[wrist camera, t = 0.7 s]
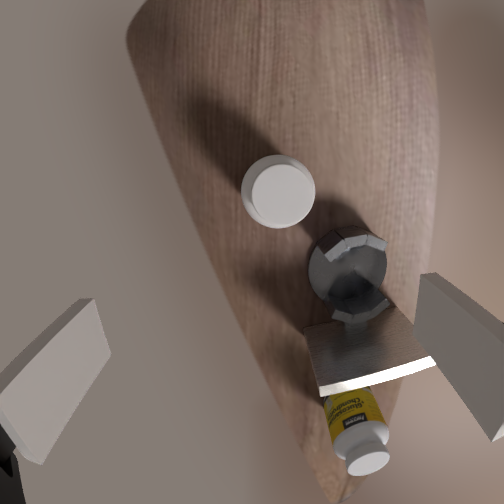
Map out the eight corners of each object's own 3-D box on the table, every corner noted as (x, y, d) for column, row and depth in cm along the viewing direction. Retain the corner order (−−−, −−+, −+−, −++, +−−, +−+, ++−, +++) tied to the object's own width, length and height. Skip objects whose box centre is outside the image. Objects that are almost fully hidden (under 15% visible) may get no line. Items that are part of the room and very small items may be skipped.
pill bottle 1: (231, 188, 29) (220, 199, 19) (269, 145, 27) (277, 134, 18) (275, 226, 29) (284, 254, 20) (313, 184, 28) (340, 193, 19)
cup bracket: (288, 237, 30) (304, 271, 20) (392, 218, 29) (445, 242, 19) (304, 336, 33) (320, 397, 23) (396, 315, 32) (436, 364, 22)
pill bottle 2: (363, 370, 34) (394, 437, 23) (374, 401, 36) (401, 464, 24) (315, 390, 35) (331, 462, 24) (330, 419, 36) (346, 486, 25)
